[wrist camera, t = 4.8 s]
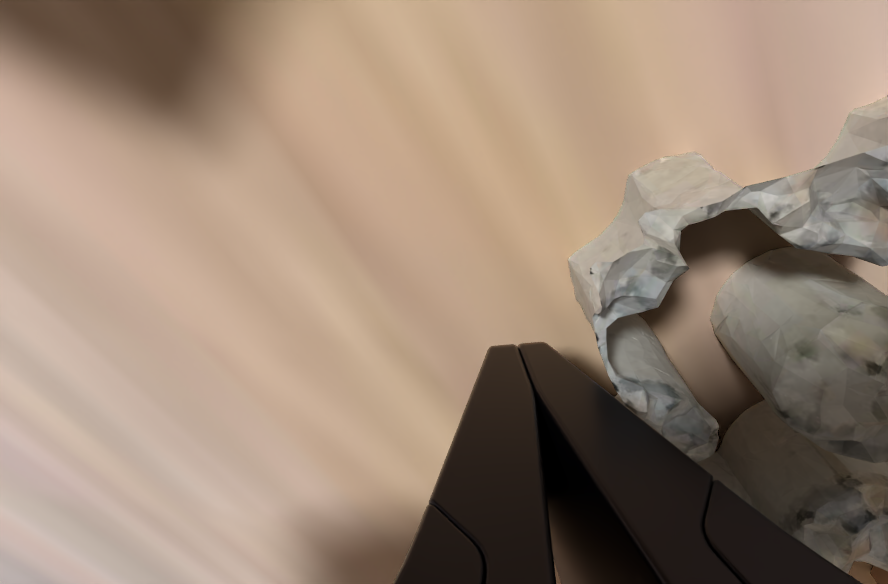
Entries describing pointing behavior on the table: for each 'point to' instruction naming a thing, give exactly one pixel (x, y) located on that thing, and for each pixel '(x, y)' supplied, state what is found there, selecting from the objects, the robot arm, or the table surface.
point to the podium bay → (879, 575)
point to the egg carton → (767, 334)
